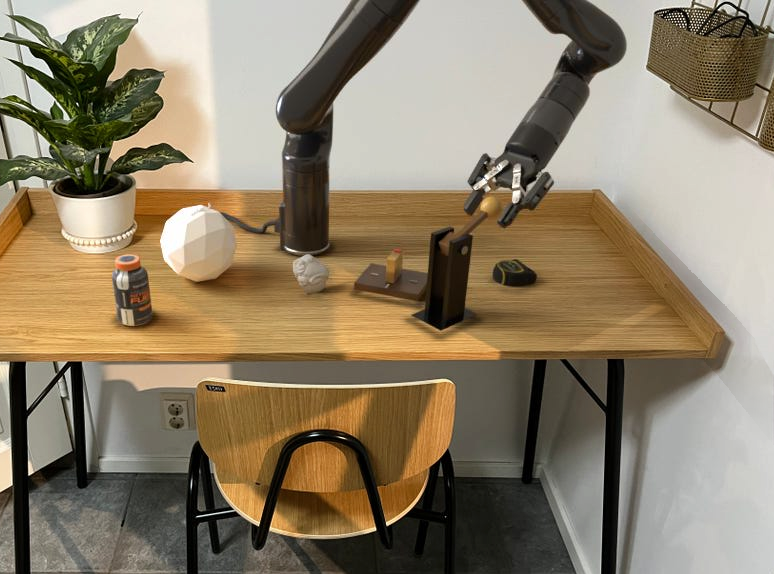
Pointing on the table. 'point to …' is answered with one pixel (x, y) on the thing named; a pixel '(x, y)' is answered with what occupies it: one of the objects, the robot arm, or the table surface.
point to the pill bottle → (131, 291)
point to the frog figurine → (310, 274)
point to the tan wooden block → (394, 266)
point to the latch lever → (475, 221)
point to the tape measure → (513, 273)
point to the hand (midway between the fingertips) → (483, 219)
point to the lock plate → (404, 287)
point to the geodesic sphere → (198, 243)
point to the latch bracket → (447, 282)
